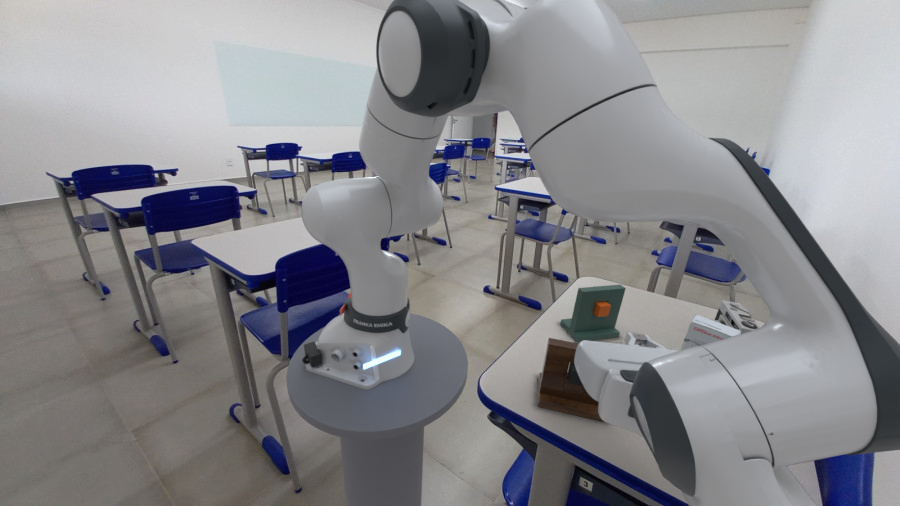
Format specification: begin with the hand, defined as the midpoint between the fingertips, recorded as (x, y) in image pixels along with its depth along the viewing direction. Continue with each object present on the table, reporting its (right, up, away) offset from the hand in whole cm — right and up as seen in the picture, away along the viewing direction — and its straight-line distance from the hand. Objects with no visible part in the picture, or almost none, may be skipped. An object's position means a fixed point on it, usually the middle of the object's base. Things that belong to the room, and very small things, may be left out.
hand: (635, 337), depth 53 cm
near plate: (-4, -16, +17) cm, 23 cm away
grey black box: (+40, -11, +36) cm, 55 cm away
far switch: (+9, -2, +35) cm, 36 cm away
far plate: (+8, -8, +39) cm, 40 cm away
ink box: (+28, -14, +27) cm, 42 cm away
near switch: (-4, -11, +12) cm, 17 cm away
